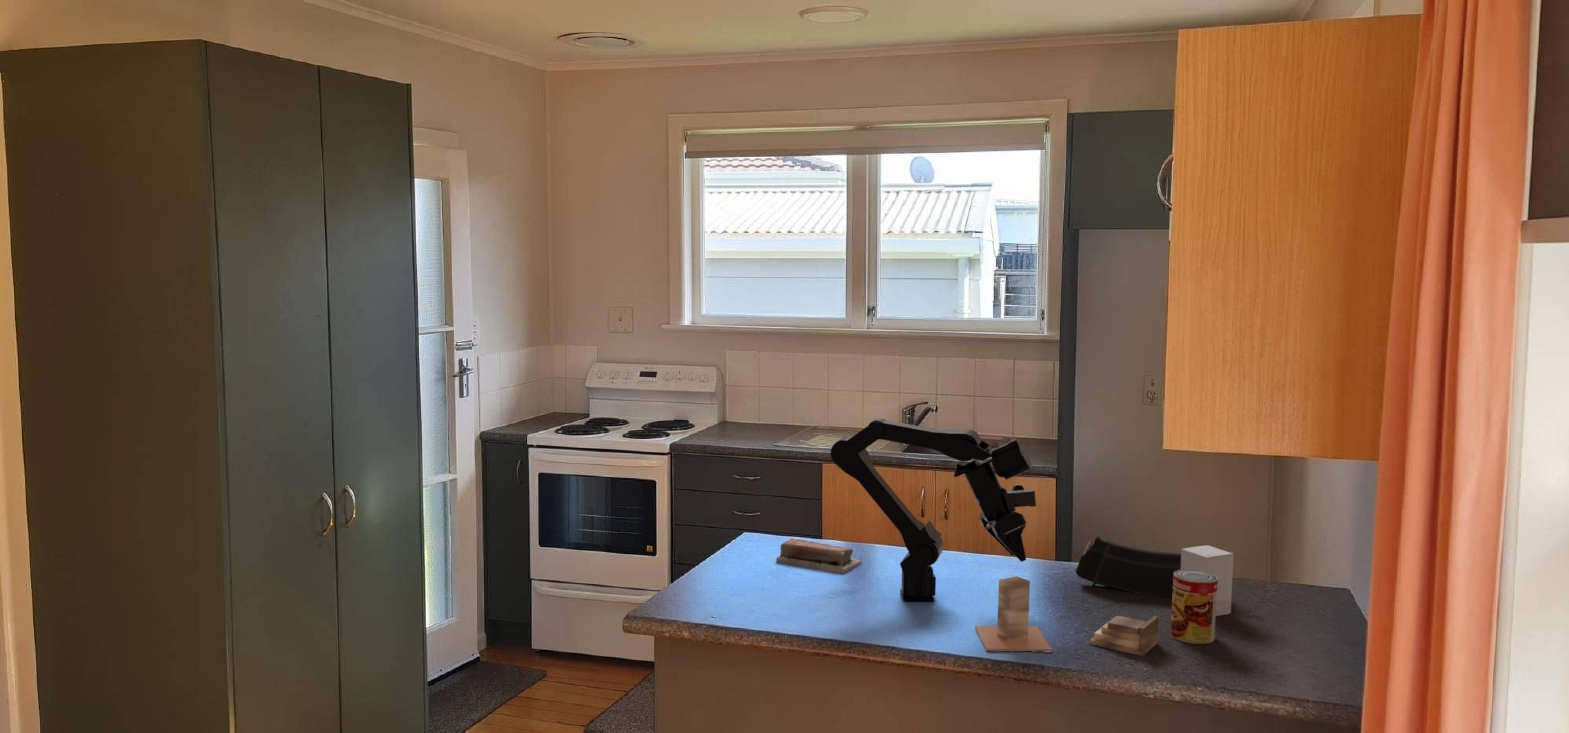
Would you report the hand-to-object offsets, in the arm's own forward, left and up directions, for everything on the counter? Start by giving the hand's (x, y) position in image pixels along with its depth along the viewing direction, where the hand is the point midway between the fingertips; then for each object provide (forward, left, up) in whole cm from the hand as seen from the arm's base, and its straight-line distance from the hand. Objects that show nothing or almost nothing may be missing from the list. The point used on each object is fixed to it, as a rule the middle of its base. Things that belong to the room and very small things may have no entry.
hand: (1018, 557), depth 224 cm
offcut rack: (+16, -20, -11) cm, 27 cm away
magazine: (+31, +11, -11) cm, 34 cm away
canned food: (+30, -16, -11) cm, 36 cm away
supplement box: (+38, -1, -11) cm, 40 cm away
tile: (-5, -19, -11) cm, 22 cm away
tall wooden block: (-5, -19, -10) cm, 22 cm away
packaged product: (-40, +31, -11) cm, 52 cm away
